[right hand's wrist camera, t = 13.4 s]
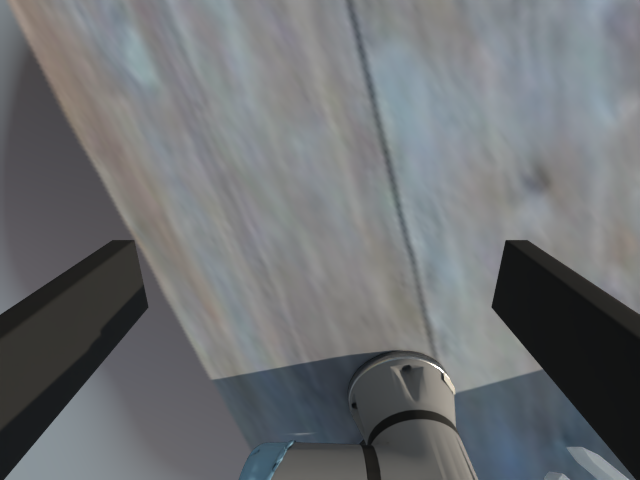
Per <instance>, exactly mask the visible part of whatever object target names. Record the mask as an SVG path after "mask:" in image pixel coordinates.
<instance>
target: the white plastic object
mask: <svg viewBox="0 0 640 480" xmlns="http://www.w3.org/2000/svg"><path fill="white" fill-rule="evenodd" d="M566 448H567V449H568V451H569V452H570V453H571V455H572V456H573V458H574V459H575V460H576V462H578V463H579V464H580V465H581V466H582V467H583V468H585V469H586V470H587V471H588V472H589V473H591V474H592V475H593V476H594V477H595V478H596V479H598V480H629V479H628V478H627V477H625V476H624V475H623V474H622V473H620V472H619V471H618V470H617V469H615V468H614V467H613V466H612V465H611V464H609V463H608V462H607V461H606V460H604V459H603V458H602V457H601V456H599V455H598V454H596V453H594V452H592V451H589V450H587V449H585V448H583V447H566ZM544 479H545V480H570V479H569V478H568V477H566V476H565V475H564V474H563V473H556V472H548V473H547V475H546V476H545V477H544Z"/></svg>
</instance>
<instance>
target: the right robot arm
mask: <svg viewBox="0 0 640 480" xmlns="http://www.w3.org/2000/svg"><path fill="white" fill-rule="evenodd" d="M147 308H148V303H147V298H146V293H145V289H144V284H143V279H142V274H141V270H140V265H139V260H138V256H137V251H136V246H135V241H134V240H112V241H111V242H109V243H108V244H106V245H105V246H103V247H102V248H100V249H99V250H97V251H96V252H94V253H93V254H91V255H90V256H88V257H87V258H85V259H84V260H82V261H81V262H79V263H78V264H76V265H75V266H73V267H72V268H70V269H69V270H67V271H66V272H64V273H62V274H61V275H59V276H58V277H56V278H55V279H53V280H52V281H50V282H49V283H47V284H46V285H44V286H43V287H41V288H40V289H38V290H37V291H35V292H34V293H32V294H31V295H29V296H28V297H26V298H25V299H23V300H22V301H20V302H19V303H17V304H16V305H14V306H13V307H11V308H10V309H8V310H7V311H5V312H4V313H2V314H1V315H0V480H4V479H5V478H6V477H7V475H8V474H9V473H10V472H11V471H12V469H13V468H14V467H15V466H16V465H17V463H18V462H19V461H20V460H21V459H22V457H23V456H24V455H25V454H26V453H27V452H28V450H29V449H30V448H31V447H32V446H33V444H34V443H35V442H36V441H37V440H38V438H39V437H40V436H41V435H42V434H43V432H44V431H45V430H46V429H47V428H48V426H49V425H50V424H51V423H52V422H53V420H54V419H55V418H56V417H57V416H58V415H59V413H60V412H61V411H62V410H63V409H64V407H65V406H66V405H67V404H68V403H69V401H70V400H71V399H72V398H73V397H74V395H75V394H76V393H77V392H78V391H79V390H80V388H81V387H82V386H83V385H84V383H85V382H86V381H87V380H88V379H89V378H90V376H91V375H92V374H93V373H94V372H95V370H96V369H97V368H98V367H99V366H100V364H101V363H102V362H103V361H104V360H105V358H106V357H107V356H108V355H109V354H110V353H111V351H112V350H113V349H114V348H115V347H116V345H117V344H118V343H119V342H120V340H121V339H122V338H123V337H124V336H125V335H126V333H127V332H128V331H129V330H130V329H131V327H132V326H133V325H134V324H135V323H136V321H137V320H138V319H139V318H140V317H141V315H142V314H143V313H144V312H145V311H146V310H147ZM492 308H493V310H494V311H495V312H496V313H497V314H498V316H499V317H500V318H501V319H502V320H503V321H504V323H505V324H506V325H507V326H508V327H509V329H510V330H511V331H512V332H513V333H514V335H515V336H516V337H517V338H518V339H519V341H520V342H521V343H522V344H523V345H524V347H525V348H526V349H527V350H528V351H529V353H530V354H531V355H532V356H533V357H534V358H535V360H536V361H537V362H538V363H539V364H540V366H541V367H542V368H543V369H544V370H545V372H546V373H547V374H548V375H549V376H550V378H551V379H552V380H553V381H554V382H555V384H556V385H557V386H558V387H559V388H560V390H561V391H562V392H563V393H564V394H565V395H566V397H567V398H568V399H569V400H570V401H571V403H572V404H573V405H574V406H575V407H576V409H577V410H578V411H579V412H580V413H581V415H582V416H583V417H584V418H585V419H586V421H587V422H588V423H589V424H590V425H591V427H592V428H593V429H594V430H595V431H596V432H597V434H598V435H599V436H600V437H601V438H602V440H603V441H604V442H605V443H606V444H607V446H608V447H609V448H610V449H611V450H612V452H613V453H614V454H615V455H616V456H617V458H618V459H619V460H620V461H621V462H622V463H623V465H624V466H625V467H626V468H627V469H628V471H629V472H630V473H631V474H632V475H633V477H634V478H635V479H636V480H640V314H638V313H636V312H635V311H633V310H632V309H630V308H629V307H627V306H626V305H624V304H623V303H621V302H620V301H618V300H617V299H615V298H614V297H612V296H611V295H609V294H608V293H606V292H605V291H603V290H602V289H600V288H599V287H597V286H596V285H594V284H593V283H591V282H590V281H588V280H587V279H585V278H584V277H582V276H581V275H579V274H578V273H576V272H574V271H573V270H571V269H570V268H568V267H567V266H565V265H564V264H562V263H561V262H559V261H558V260H556V259H555V258H553V257H552V256H550V255H549V254H547V253H546V252H544V251H543V250H541V249H540V248H538V247H537V246H535V245H534V244H532V243H531V242H529V241H528V240H506V241H505V246H504V251H503V256H502V260H501V265H500V270H499V274H498V279H497V284H496V289H495V293H494V298H493V303H492ZM454 394H455V387H454V386H453V384H452V383H451V381H450V379H449V377H448V375H447V373H446V371H445V369H444V368H443V367H442V366H441V365H440V364H439V363H438V362H437V361H436V360H434V359H433V358H431V357H429V356H427V355H424V354H421V353H417V352H411V351H395V352H389V353H385V354H382V355H379V356H377V357H375V358H372V359H371V360H369V361H367V362H366V363H365V364H363V365H362V366H361V367H360V368H359V369H358V370H357V371H356V373H355V374H354V375H353V377H352V379H351V381H350V384H349V388H348V401H349V408H350V412H351V414H352V417H353V419H354V421H355V423H356V425H357V427H358V429H359V431H360V433H361V435H362V437H363V439H364V440H363V441H362V442H361V443H360V444H329V443H300V442H296V441H294V440H291V441H289V442H277V443H263V444H261V445H259V446H257V447H256V448H255V449H254V450H253V451H252V452H251V454H250V455H249V457H248V459H247V461H246V463H245V465H244V467H243V469H242V472H241V475H240V478H239V480H478V478H477V476H476V473H475V471H474V469H473V466H472V464H471V462H470V459H469V457H468V455H467V452H466V450H465V448H464V445H463V443H462V441H461V439H460V436H459V434H458V431H457V429H456V420H455V402H454ZM366 444H367V445H366Z"/></svg>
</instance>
